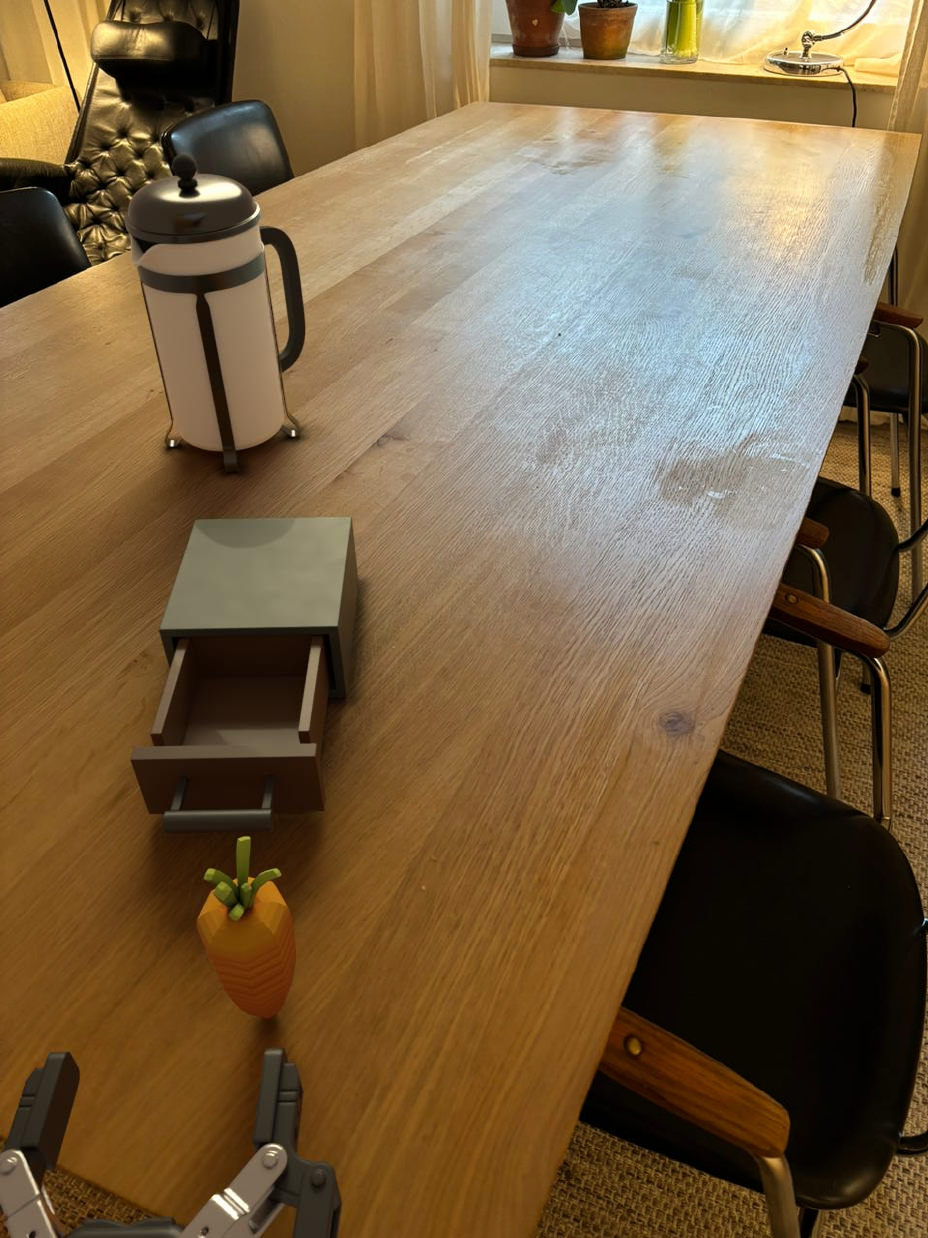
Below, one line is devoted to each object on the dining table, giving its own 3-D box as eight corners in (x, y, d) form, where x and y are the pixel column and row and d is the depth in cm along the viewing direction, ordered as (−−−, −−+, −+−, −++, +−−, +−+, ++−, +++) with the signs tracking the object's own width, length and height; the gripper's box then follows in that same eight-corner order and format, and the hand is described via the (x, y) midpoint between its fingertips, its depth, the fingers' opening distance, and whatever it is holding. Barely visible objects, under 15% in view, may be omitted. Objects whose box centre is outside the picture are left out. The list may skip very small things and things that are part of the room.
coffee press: (307, 471, 106) (268, 175, 86) (156, 478, 105) (82, 182, 86) (314, 394, 119) (282, 122, 100) (180, 399, 118) (121, 127, 99)
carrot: (268, 960, 62) (229, 809, 53) (328, 1003, 60) (298, 853, 50) (210, 1022, 59) (157, 874, 50) (270, 1070, 57) (228, 924, 47)
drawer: (318, 862, 67) (308, 808, 63) (134, 866, 67) (113, 811, 63) (339, 678, 80) (332, 624, 77) (186, 681, 80) (172, 627, 77)
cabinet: (346, 697, 80) (338, 626, 75) (178, 700, 80) (158, 629, 75) (358, 584, 91) (351, 516, 86) (210, 587, 91) (195, 518, 86)
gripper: (287, 1614, 25) (339, 1006, 37) (-278, 1627, 25) (-38, 1015, 37) (320, 1643, 30) (357, 1096, 42) (-153, 1654, 30) (23, 1104, 42)
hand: (171, 1058), depth 40 cm, fingers open, 8 cm apart
